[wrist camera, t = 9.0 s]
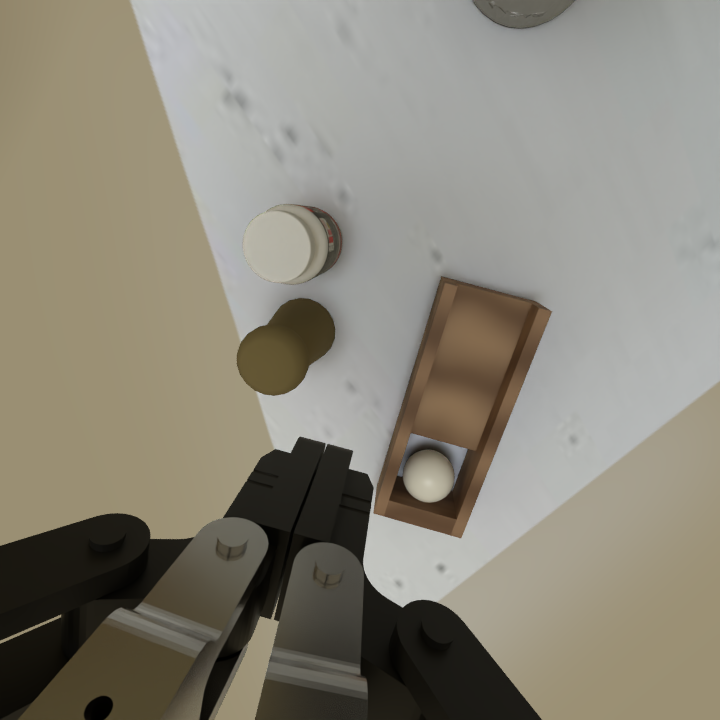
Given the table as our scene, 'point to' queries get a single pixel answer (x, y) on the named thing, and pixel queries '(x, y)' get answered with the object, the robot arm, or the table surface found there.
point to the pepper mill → (285, 347)
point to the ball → (428, 476)
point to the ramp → (461, 395)
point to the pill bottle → (292, 243)
